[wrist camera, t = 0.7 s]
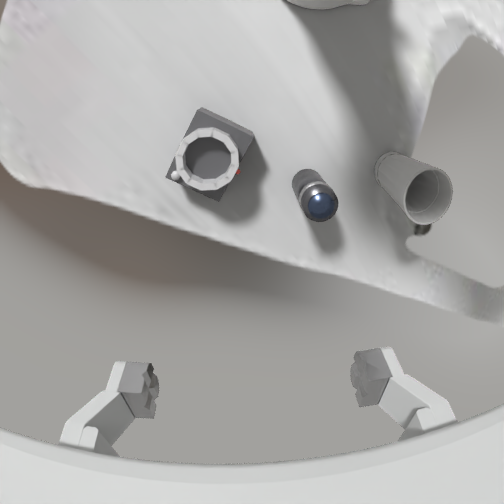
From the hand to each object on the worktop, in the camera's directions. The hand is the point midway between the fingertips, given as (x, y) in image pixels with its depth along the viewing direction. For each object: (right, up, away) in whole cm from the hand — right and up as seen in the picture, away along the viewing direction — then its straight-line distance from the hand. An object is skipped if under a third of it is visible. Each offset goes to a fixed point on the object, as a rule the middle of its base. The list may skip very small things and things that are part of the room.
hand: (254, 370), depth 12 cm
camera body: (-6, +19, +33) cm, 38 cm away
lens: (+8, +15, +36) cm, 39 cm away
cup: (+22, +18, +35) cm, 45 cm away
